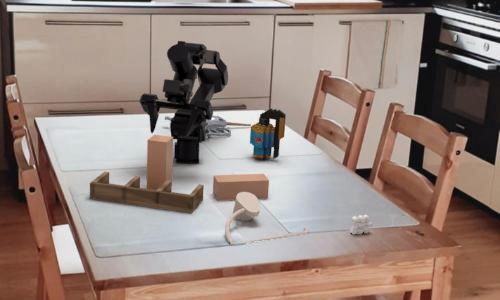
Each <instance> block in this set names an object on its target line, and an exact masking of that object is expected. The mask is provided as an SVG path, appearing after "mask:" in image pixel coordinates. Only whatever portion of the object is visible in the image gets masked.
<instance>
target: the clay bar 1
mask: <svg viewBox="0 0 500 300" xmlns="http://www.w3.org/2000/svg"><path fill="white" fill-rule="evenodd" d="M146 142H147V144H146V145H147V146H146V147H147V149H146V151H147V152H146V155H147V156H146V162H147V163H146V189H153V190H157V189H158V188H159V187H160V186H161V185H162V184H163V183H164V182H165V181H166V180H171V181H172V182H173V163H174V162H173V160H174V159H173V158H174V139H173V137H171V135H170V136H169V135H168V136H167V135H160V134H153V135H152V136H150V137H149V138H148V139H147V141H146Z"/></svg>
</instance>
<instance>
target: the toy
mask: <svg viewBox="0 0 500 300" xmlns="http://www.w3.org/2000/svg"><path fill="white" fill-rule="evenodd" d="M271 120H274V121H275V122H274V123H275V125H273V124H272V123H270V122H271ZM285 129H286V113H284V111H282V110H281V109H276V108H274V109H273V108H269V109H267V110H265V111H263V112H262V113H260V115H259V117H258V122H256V123H254V124H251V126H250V134H249V135H250V136H249V144H250V145H252V146H253V152H252V155H253V156H255V158H256V159H257V160H260V161H265V160H267V159H269V158H270V157H272V160H275V159H277V158H278V157H279V155H280V142H281V141H280V140H281V139H283V138H285ZM272 148H273V153H272ZM272 155H273V156H272Z"/></svg>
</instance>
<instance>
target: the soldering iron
mask: <svg viewBox="0 0 500 300" xmlns="http://www.w3.org/2000/svg"><path fill="white" fill-rule="evenodd" d="M172 118H173V117H170V116H168V115H167V116H166V115H165V117H164V120H168V121H170V122H171V119H172ZM203 125H204V128H205V130H206V136H205V139H208V138H209V137H208V136H215V137H228V136H230V135H231V133H232V130H230V129H229V128H227V126H233V127H235V126H237V127H238V126H240V127H241V126H242V127H251V126H252V124H250V123H240V122H239V123H238V122H229V121H227V120H225V119H224V118H222V116H218V115H213V116H212V119H211V120H206V122H203ZM223 132H225V133H223Z"/></svg>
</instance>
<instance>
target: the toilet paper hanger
mask: <svg viewBox="0 0 500 300" xmlns="http://www.w3.org/2000/svg"><path fill="white" fill-rule="evenodd" d="M260 212H261V205H260V202H259V199H257V197H256V196H255V195H253V194H252V193H249V192H240V193H238V194H237V196H236V200H234V207H233V211H232V214H231V215H230V216H229V218H228V219H227V221H226V223H225V227H224V228H225V229H224V233H225V237H226V240H227V242H228V243H229V242H230V243H232V244H236V243H240V242H241V243H243V242H245V243H247V242H254V241H262V240H268V241H271V240H270V239H274V240H277V239H276V238H279V239H283V238H282V237H285V238H288V237H287V236H291V237H294V236H293V235H297V236H299V235H298V234H302V233H306V232H308V231H309V232H310V229H309V228H308V227H307V226H305V227H303V231H298V232H294V233H287V234H282V235H280V234H279V235H276V236H269V237H263V238H256V239H252V240H250V239H249V240H245V241H238V242H234V241H233V240H234V239H232V236H231V233H230V229H231V224H232V222H233V220H234V219H235V220H237V221H250V220H252V219H253V218H256V217H258V216H259V214H260ZM304 230H305V231H304ZM262 242H263V241H262Z"/></svg>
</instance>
